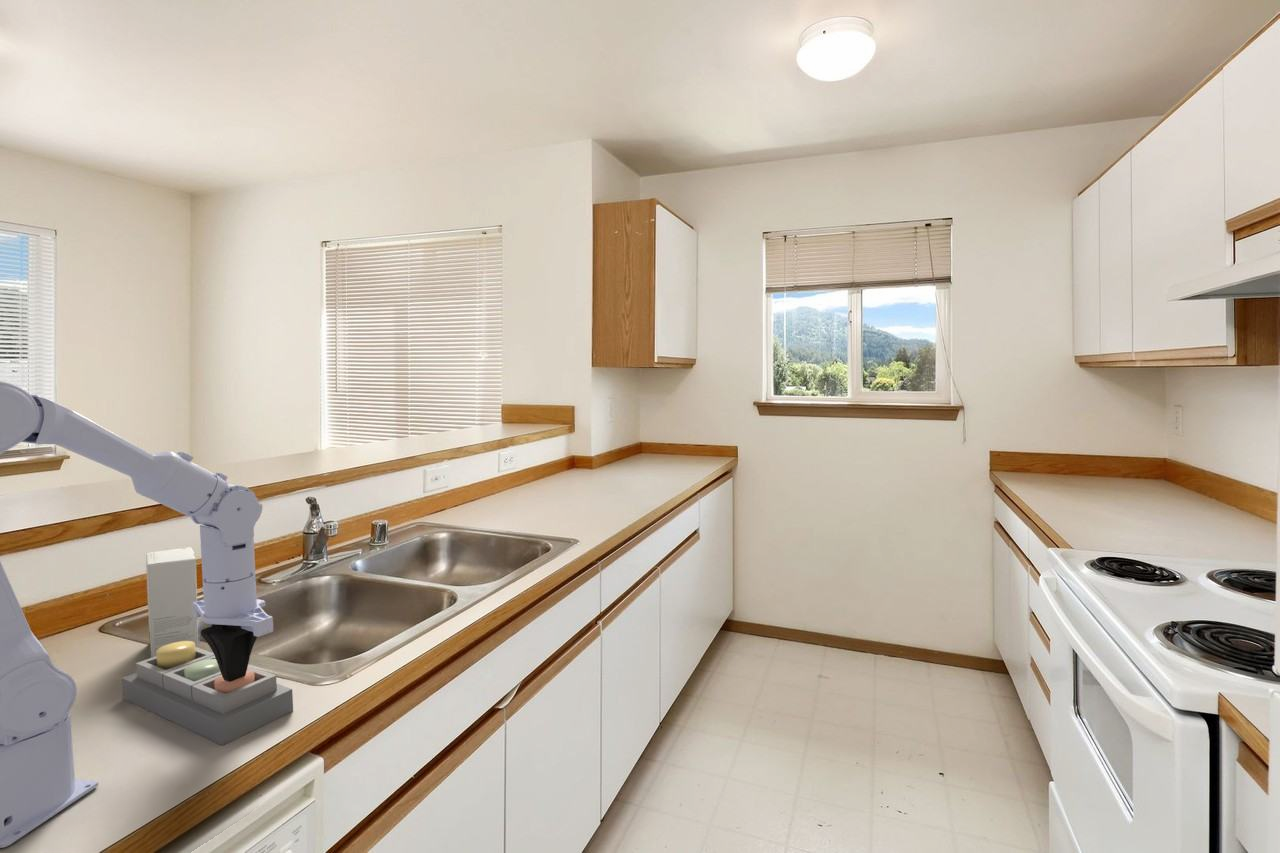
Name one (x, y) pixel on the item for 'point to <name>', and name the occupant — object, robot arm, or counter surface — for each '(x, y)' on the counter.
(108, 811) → the counter surface
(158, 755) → the counter surface
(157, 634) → the skincare box
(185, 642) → the yellow rounded piece
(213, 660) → the sage button
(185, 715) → the button panel
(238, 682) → the salmon pink button
